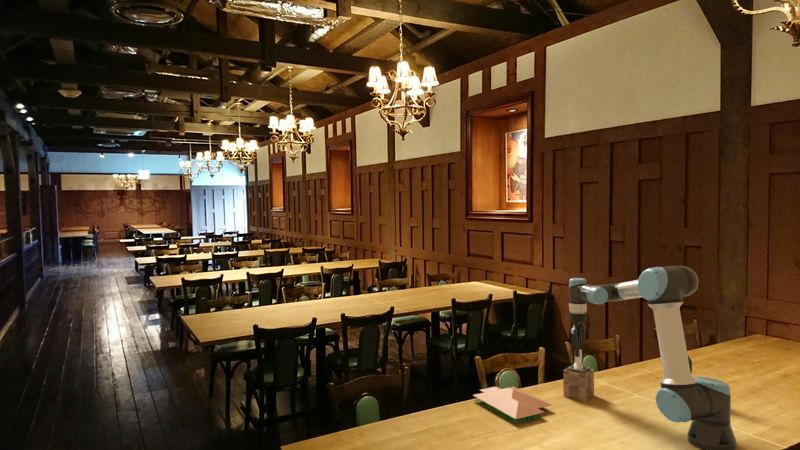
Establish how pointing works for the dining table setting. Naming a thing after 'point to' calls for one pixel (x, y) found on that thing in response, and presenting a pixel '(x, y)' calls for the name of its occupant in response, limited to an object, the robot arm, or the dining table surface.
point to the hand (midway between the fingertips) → (578, 363)
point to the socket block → (578, 383)
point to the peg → (578, 366)
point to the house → (512, 402)
